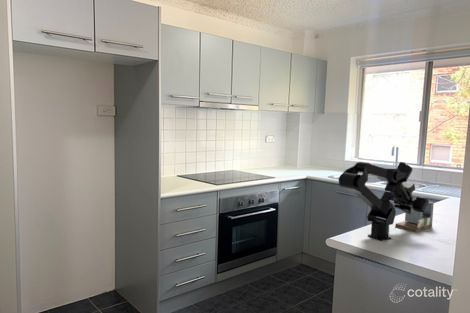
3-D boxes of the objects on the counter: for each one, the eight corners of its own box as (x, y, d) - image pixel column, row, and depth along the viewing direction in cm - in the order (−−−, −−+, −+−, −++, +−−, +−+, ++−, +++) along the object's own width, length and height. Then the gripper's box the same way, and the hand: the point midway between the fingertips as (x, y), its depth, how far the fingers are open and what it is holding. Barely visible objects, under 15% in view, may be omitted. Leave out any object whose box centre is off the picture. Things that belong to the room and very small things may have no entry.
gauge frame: (416, 232, 151) (416, 221, 150) (395, 226, 158) (395, 216, 158) (432, 226, 159) (433, 216, 159) (412, 222, 167) (412, 212, 166)
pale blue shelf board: (425, 226, 153) (427, 205, 152) (404, 221, 161) (406, 201, 160) (430, 224, 156) (431, 204, 155) (409, 220, 163) (410, 200, 162)
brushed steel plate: (430, 224, 158) (431, 203, 157) (410, 219, 165) (411, 199, 165) (432, 223, 159) (433, 202, 158) (412, 218, 167) (413, 198, 166)
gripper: (428, 178, 144) (439, 202, 151) (385, 173, 159) (397, 195, 166) (416, 199, 140) (428, 223, 147) (374, 192, 155) (386, 214, 162)
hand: (409, 213), depth 156 cm, fingers closed
